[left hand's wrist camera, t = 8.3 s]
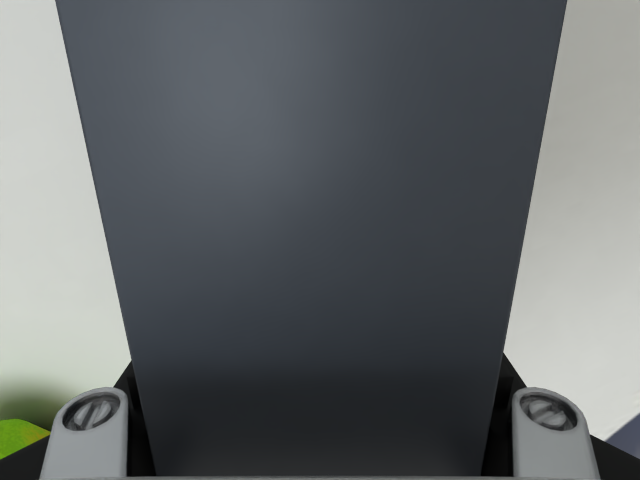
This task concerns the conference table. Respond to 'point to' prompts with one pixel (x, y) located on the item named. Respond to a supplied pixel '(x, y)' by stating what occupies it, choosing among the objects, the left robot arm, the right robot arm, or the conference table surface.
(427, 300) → the post
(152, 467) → the left robot arm
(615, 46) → the conference table surface
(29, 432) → the decorative tree
